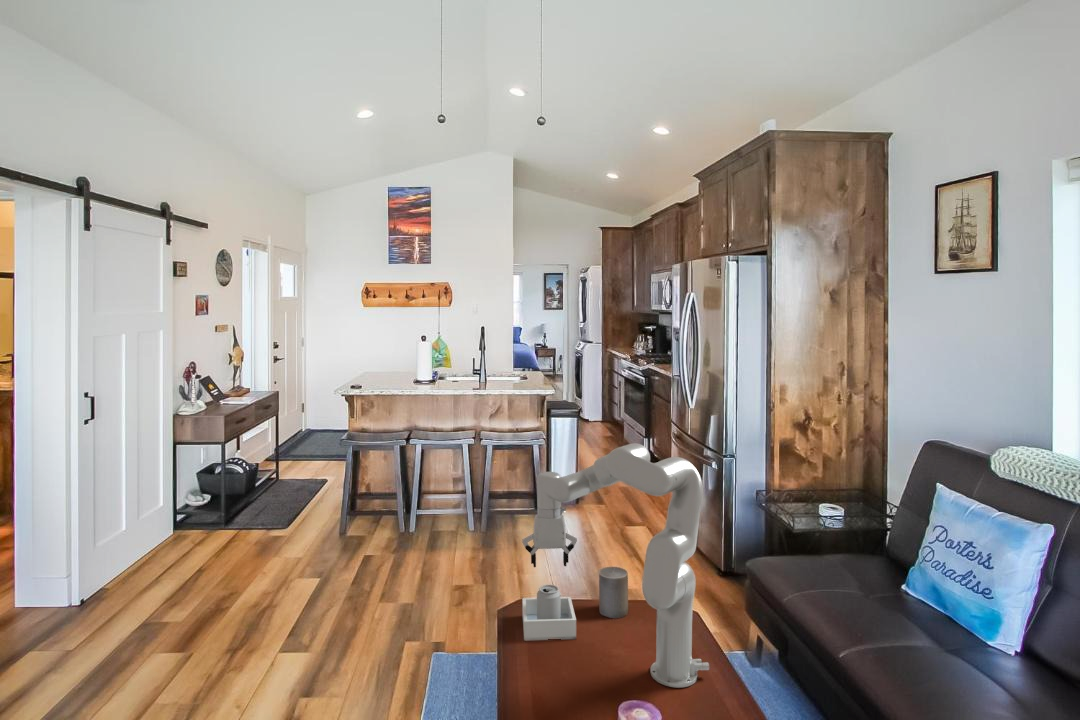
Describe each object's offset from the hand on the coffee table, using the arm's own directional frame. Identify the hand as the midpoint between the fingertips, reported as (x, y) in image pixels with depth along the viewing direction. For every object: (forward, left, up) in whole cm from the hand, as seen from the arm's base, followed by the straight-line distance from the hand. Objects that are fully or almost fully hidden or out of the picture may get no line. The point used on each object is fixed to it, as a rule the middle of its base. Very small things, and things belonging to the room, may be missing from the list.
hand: (549, 565), depth 195 cm
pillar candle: (-22, -10, -21) cm, 32 cm away
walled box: (0, -1, -20) cm, 20 cm away
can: (0, -1, -20) cm, 20 cm away
